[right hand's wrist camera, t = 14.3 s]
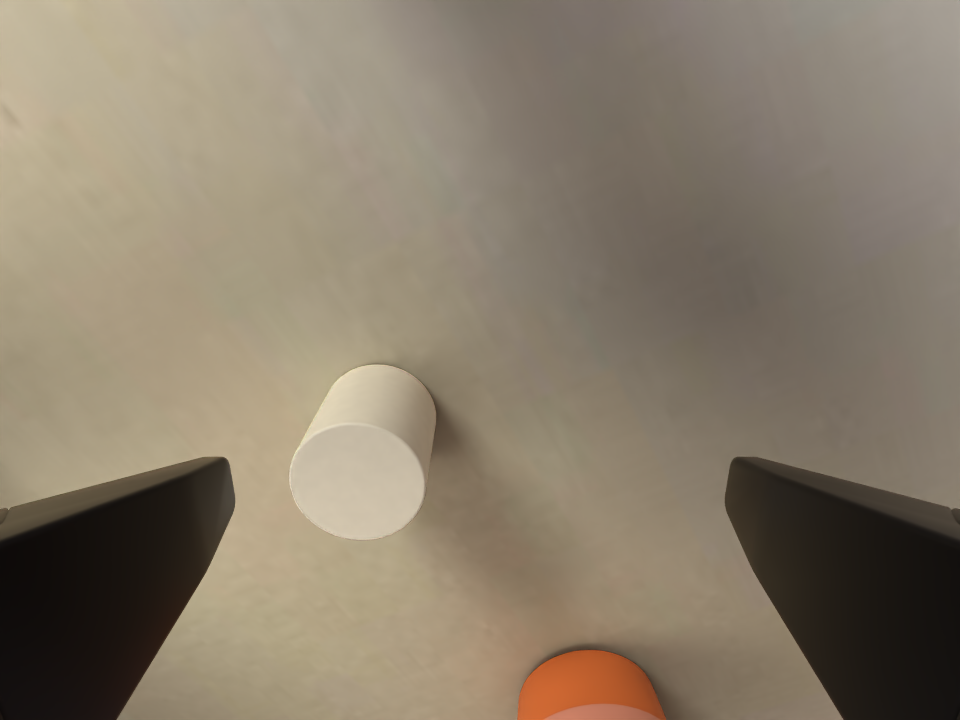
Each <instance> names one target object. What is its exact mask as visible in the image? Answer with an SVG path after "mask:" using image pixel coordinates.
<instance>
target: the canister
mask: <svg viewBox="0 0 960 720" xmlns="http://www.w3.org/2000/svg"><path fill="white" fill-rule="evenodd" d="M435 426H436V410H435V405H434V402H433V400H432V397H431V395H430V393H429V392H428V390H427V389H426V388H425V386H424V385H423V384H422V383H421V382H420V381H419V380H418V379H417V378H415V377H414V376H413V375H411V374H410V373H408V372H406V371H404V370H402V369H399V368H397V367H393V366H389V365H381V364H373V365H365V366H361V367H358V368H355V369H352V370H351V371H349V372H347V373H345V374H344V375H343V376H341V377H340V378H339V379H338V380H337V381H336V382H335V383H334V384H333V386H332V387H331V389H330V390H329V392H328V394H327V396H326V398H325V400H324V401H323V403H322V405H321V407H320V409H319V411H318V412H317V414H316V416H315V418H314V420H313V422H312V423H311V425H310V427H309V429H308V431H307V433H306V434H305V436H304V438H303V440H302V442H301V444H300V445H299V447H298V449H297V451H296V453H295V455H294V456H293V459H292V462H291V466H290V471H289V482H290V488H291V492H292V495H293V498H294V500H295V502H296V504H297V506H298V507H299V509H300V510H301V512H302V513H303V514H304V515H305V516H306V517H307V518H308V519H309V520H310V521H311V522H312V523H313V524H314V525H316V526H317V527H319V528H320V529H322V530H324V531H325V532H328V533H330V534H332V535H335V536H338V537H341V538H345V539H350V540H374V539H379V538H383V537H386V536H389V535H391V534H394V533H396V532H398V531H399V530H401V529H402V528H404V527H405V526H406V525H407V524H409V523H410V522H411V521H412V520H413V518H414V517H415V516H416V515H417V513H418V512H419V510H420V508H421V506H422V504H423V502H424V498H425V494H426V487H427V480H428V474H429V467H430V460H431V453H432V446H433V440H434V433H435Z"/></svg>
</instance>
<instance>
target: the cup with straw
mask: <svg viewBox="0 0 960 720" xmlns="http://www.w3.org/2000/svg"><path fill="white" fill-rule="evenodd" d="M518 720H666V717H665V715H664V713H663V710H662V708H661V705H660V703H659V701H658V698H657V696H656V693H655V691H654V689H653V687H652V684H651V682H650V680H649V679H648V677H647V676H646V674H645V673H644V672H643V671H642V670H641V669H640V668H639V667H638V666H637V665H636V664H635V663H633V662H632V661H630V660H628V659H627V658H624V657H622V656H620V655H617V654H614V653H610V652H606V651H599V650H580V651H573V652H568V653H565V654H561V655H559V656H556V657H554V658H552V659H550V660H548V661H546V662H545V663H543V664H542V665H540V666H539V667H538V668H536V669H535V670H534V671H533V672H532V673H531V674H530V676H529V677H528V678H527V680H526V681H525V683H524V685H523V687H522V689H521V692H520V696H519V704H518Z"/></svg>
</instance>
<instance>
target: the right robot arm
mask: <svg viewBox="0 0 960 720" xmlns="http://www.w3.org/2000/svg"><path fill="white" fill-rule="evenodd" d="M234 507H235V493H234V487H233V481H232V475H231V470H230V464H229V462H228V460H227V459H226V458H224V457H202V458H198V459H194V460H190V461H186V462H183V463H179V464H175V465H171V466H167V467H163V468H160V469H156V470H152V471H148V472H144V473H140V474H137V475H133V476H129V477H125V478H121V479H118V480H114V481H110V482H106V483H102V484H98V485H95V486H91V487H87V488H83V489H79V490H76V491H72V492H68V493H64V494H60V495H56V496H53V497H49V498H45V499H41V500H37V501H34V502H30V503H26V504H22V505H18V506H14V507H11V508H10V509H9V511H8V509H6V508H4V509H0V720H117V718H118V716H119V715H120V713H121V711H122V710H123V708H124V707H125V705H126V703H127V702H128V700H129V698H130V697H131V695H132V693H133V692H134V690H135V688H136V687H137V685H138V684H139V682H140V680H141V679H142V677H143V675H144V674H145V672H146V670H147V669H148V667H149V665H150V664H151V662H152V661H153V659H154V657H155V656H156V654H157V652H158V651H159V649H160V647H161V646H162V644H163V643H164V641H165V639H166V638H167V636H168V634H169V633H170V631H171V629H172V628H173V626H174V624H175V623H176V621H177V620H178V618H179V616H180V615H181V613H182V611H183V610H184V608H185V606H186V605H187V603H188V602H189V600H190V598H191V597H192V595H193V593H194V592H195V590H196V588H197V587H198V585H199V583H200V582H201V580H202V578H203V577H204V575H205V573H206V571H207V569H208V567H209V565H210V563H211V561H212V559H213V557H214V554H215V552H216V550H217V548H218V545H219V543H220V541H221V539H222V536H223V534H224V532H225V530H226V527H227V525H228V523H229V521H230V518H231V516H232V514H233V511H234ZM725 507H726V511H727V514H728V516H729V518H730V521H731V523H732V525H733V527H734V530H735V532H736V534H737V536H738V539H739V541H740V543H741V545H742V548H743V550H744V552H745V554H746V557H747V559H748V561H749V563H750V565H751V567H752V569H753V571H754V573H755V575H756V577H757V578H758V580H759V582H760V583H761V585H762V587H763V588H764V590H765V592H766V593H767V595H768V597H769V598H770V600H771V601H772V603H773V605H774V606H775V608H776V610H777V611H778V613H779V615H780V616H781V618H782V620H783V621H784V623H785V624H786V626H787V628H788V629H789V631H790V633H791V634H792V636H793V638H794V639H795V641H796V642H797V644H798V646H799V647H800V649H801V651H802V652H803V654H804V656H805V657H806V659H807V661H808V662H809V664H810V665H811V667H812V669H813V670H814V672H815V674H816V675H817V677H818V679H819V680H820V682H821V683H822V685H823V687H824V688H825V690H826V692H827V693H828V695H829V697H830V698H831V700H832V702H833V703H834V705H835V706H836V708H837V710H838V711H839V713H840V715H841V716H842V718H843V720H960V509H957V508H954V509H952V511H951V509H950V508H949V507H946V506H942V505H938V504H934V503H930V502H927V501H923V500H919V499H915V498H911V497H907V496H904V495H900V494H896V493H892V492H888V491H885V490H881V489H877V488H873V487H869V486H865V485H862V484H858V483H854V482H850V481H846V480H842V479H839V478H835V477H831V476H827V475H823V474H820V473H816V472H812V471H808V470H804V469H800V468H797V467H793V466H789V465H785V464H781V463H778V462H774V461H770V460H766V459H762V458H758V457H736V458H734V459H733V460H732V462H731V464H730V470H729V476H728V481H727V487H726V493H725Z"/></svg>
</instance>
